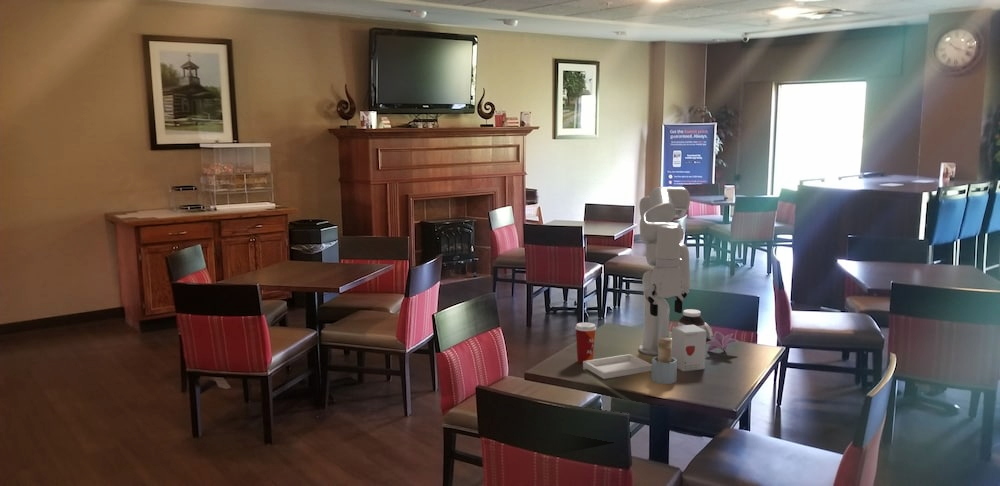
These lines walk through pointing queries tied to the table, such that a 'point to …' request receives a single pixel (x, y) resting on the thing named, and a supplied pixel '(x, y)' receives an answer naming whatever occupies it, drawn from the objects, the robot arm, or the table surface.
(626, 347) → the table surface
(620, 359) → the tray
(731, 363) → the table surface
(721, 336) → the lily
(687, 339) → the supplement box
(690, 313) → the spread jar
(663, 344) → the dowel
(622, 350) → the table surface
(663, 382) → the cup
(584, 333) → the paper cup
